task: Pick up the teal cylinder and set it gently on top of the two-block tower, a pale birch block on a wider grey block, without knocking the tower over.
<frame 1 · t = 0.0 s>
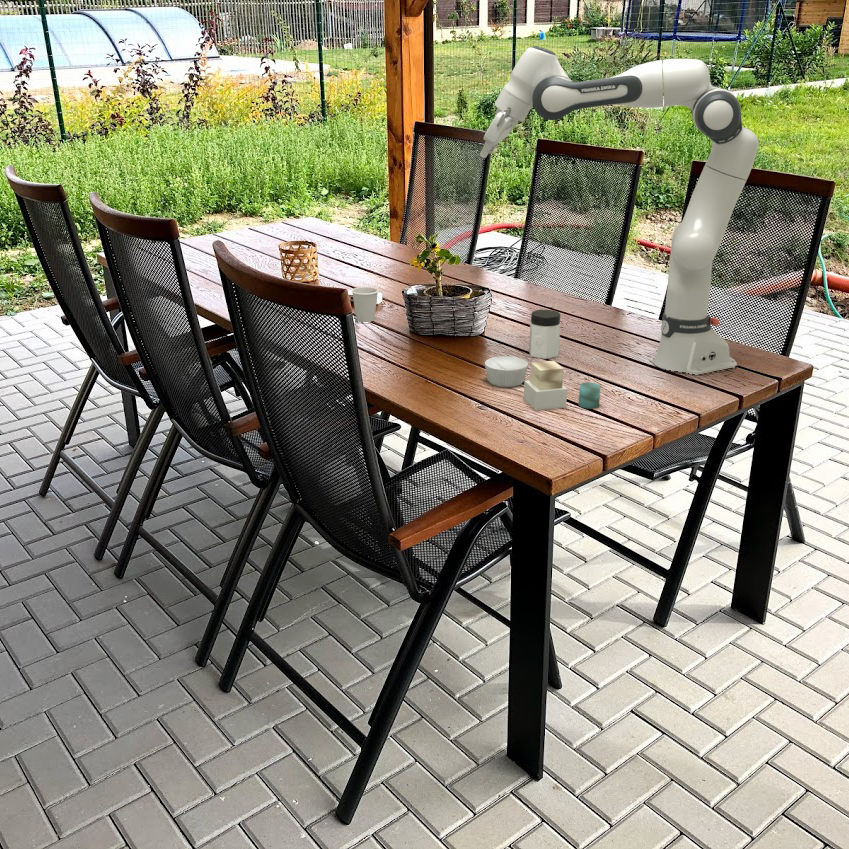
hand: (485, 154, 245), 54 cm above the table, tool tilted 30°, fingers open, 8 cm apart
ramekin: (505, 382, 243), on the table
grey base block: (544, 403, 228), on the table, touching birch top block
jar: (543, 354, 263), on the table
teal cylinder: (588, 405, 227), on the table
dixie cup: (365, 321, 292), on the table
birch top block: (546, 384, 226), point 5 cm above the table, touching grey base block
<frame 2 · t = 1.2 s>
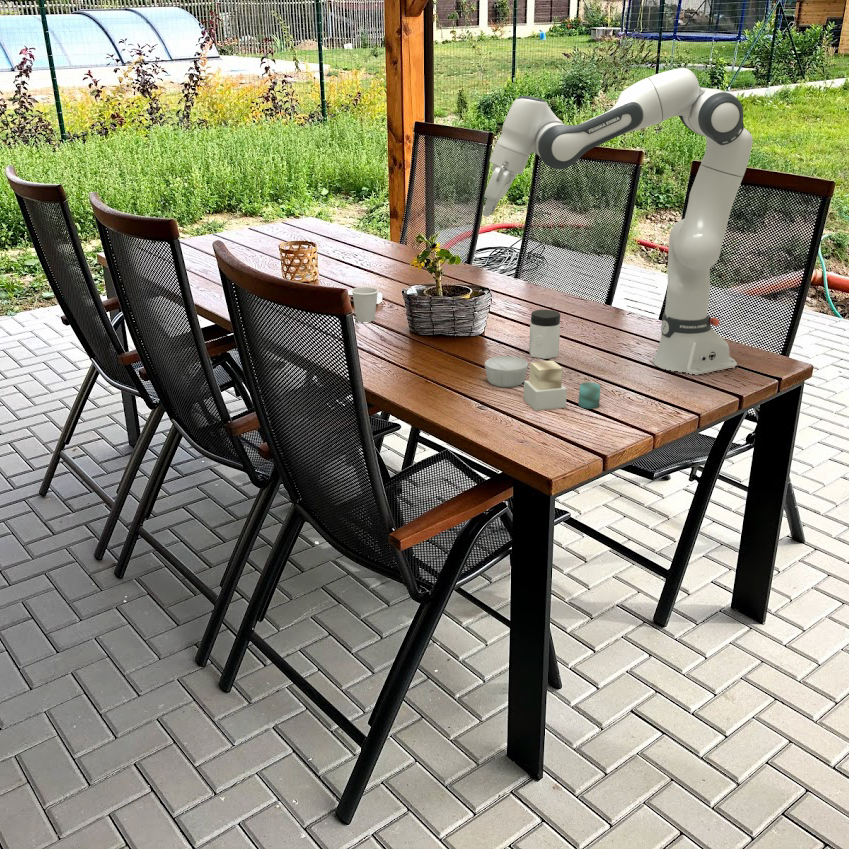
hand: (487, 214, 234), 42 cm above the table, tool tilted 20°, fingers open, 8 cm apart
nothing on the table moved.
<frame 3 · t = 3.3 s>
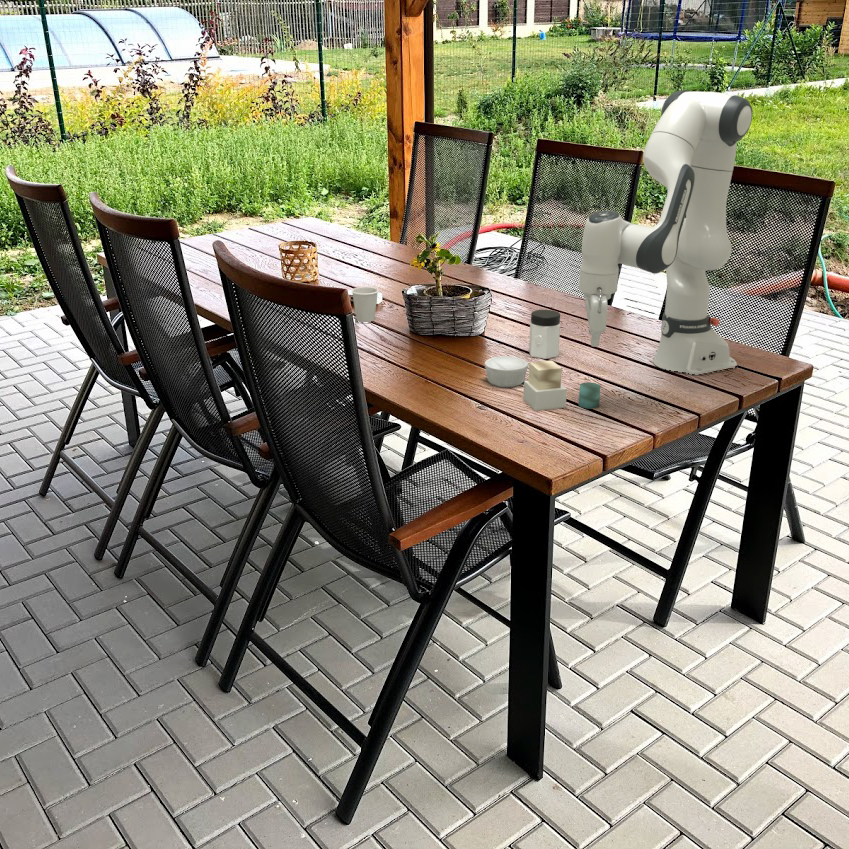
hand: (593, 339, 221), 17 cm above the table, tool pointing down, fingers open, 8 cm apart
nothing on the table moved.
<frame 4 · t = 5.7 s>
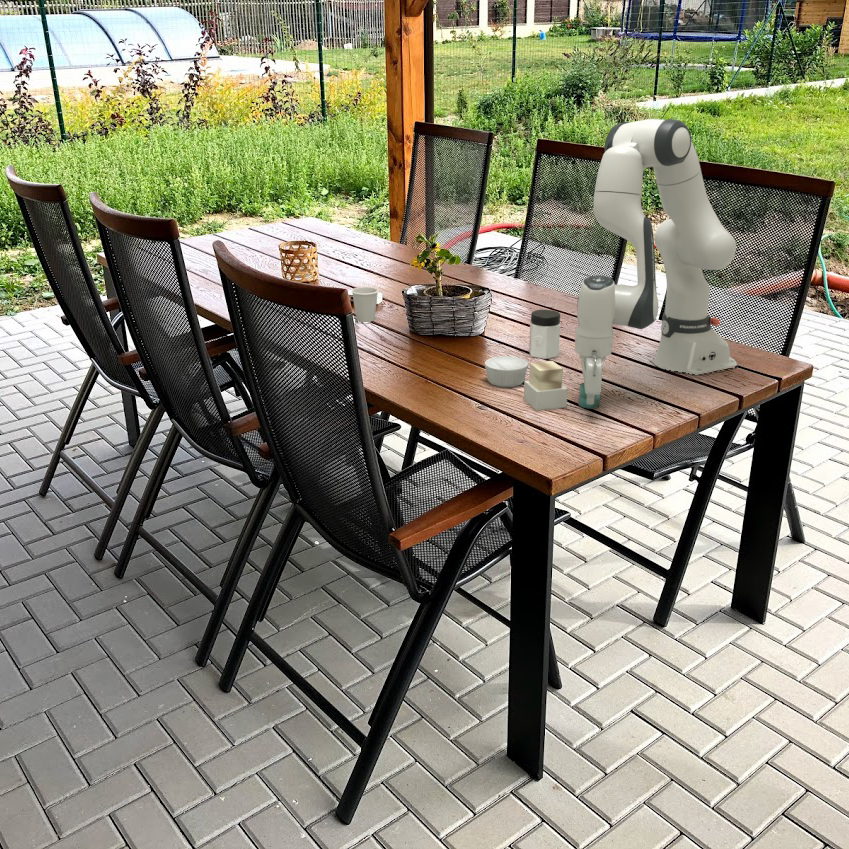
hand: (589, 398, 227), 2 cm above the table, tool pointing down, fingers closed on teal cylinder, 5 cm apart
teal cylinder: (588, 404, 227), on the table, touching gripper
everything else where it was.
when the fingers open (13 cm above the table, at t = 10.9 s): teal cylinder drops 1 cm, resting on birch top block.
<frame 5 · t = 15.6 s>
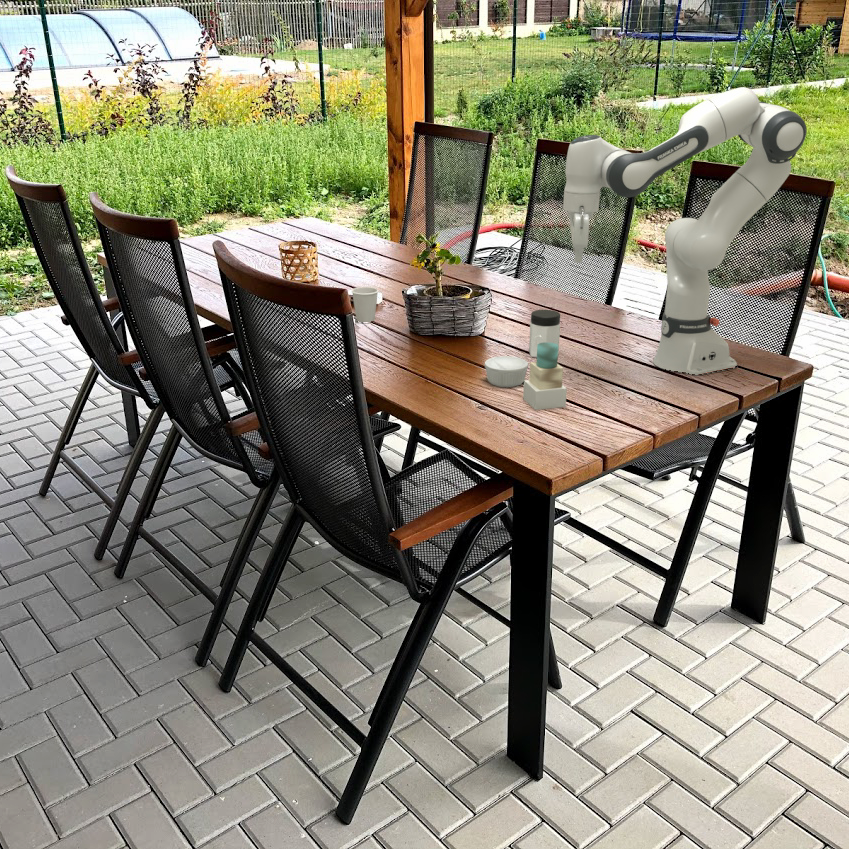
hand: (577, 257, 237), 31 cm above the table, tool pointing down, fingers open, 8 cm apart
teal cylinder: (546, 365, 225), point 10 cm above the table, touching birch top block
birch top block: (545, 384, 227), point 5 cm above the table, touching grey base block, teal cylinder
everything else where it was.
at the end: teal cylinder 0.1 cm off-centre on the birch top block, point 5.0 cm above the birch top block's base; birch top block 0.1 cm off-centre on the grey base block, point 5.0 cm above the grey base block's base; birch top block tilted 0° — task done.
